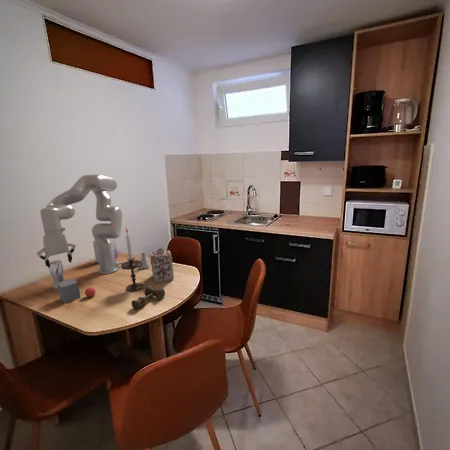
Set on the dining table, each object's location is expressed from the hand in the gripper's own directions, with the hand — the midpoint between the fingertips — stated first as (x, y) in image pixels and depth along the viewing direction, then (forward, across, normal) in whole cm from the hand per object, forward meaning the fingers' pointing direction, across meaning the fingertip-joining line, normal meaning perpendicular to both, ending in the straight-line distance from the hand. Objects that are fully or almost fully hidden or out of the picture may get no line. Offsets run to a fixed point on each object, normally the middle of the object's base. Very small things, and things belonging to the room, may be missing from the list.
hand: (59, 264), depth 141 cm
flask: (+19, -49, -8) cm, 53 cm away
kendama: (+20, -30, +36) cm, 51 cm away
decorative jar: (+19, -49, +16) cm, 55 cm away
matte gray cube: (+19, -2, +1) cm, 19 cm away
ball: (+17, -10, +8) cm, 21 cm away
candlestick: (+19, -31, +16) cm, 40 cm away
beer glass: (+19, -1, -20) cm, 28 cm away
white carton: (+19, -37, -42) cm, 59 cm away
